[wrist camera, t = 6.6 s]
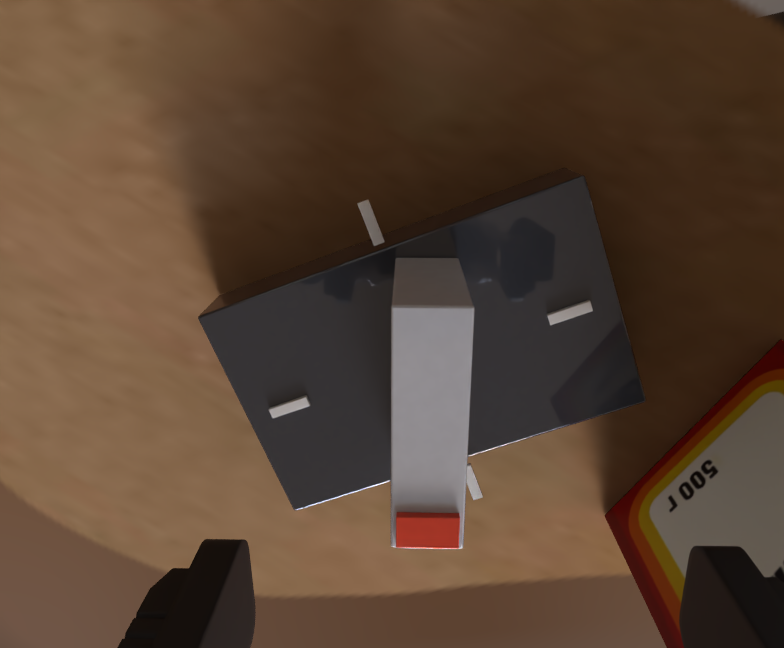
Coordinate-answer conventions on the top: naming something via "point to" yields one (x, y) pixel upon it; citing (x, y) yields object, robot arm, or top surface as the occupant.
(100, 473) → the top surface
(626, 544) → the baking soda box
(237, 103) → the top surface
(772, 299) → the top surface
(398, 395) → the white rectangular block
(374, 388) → the rotary selector switch
